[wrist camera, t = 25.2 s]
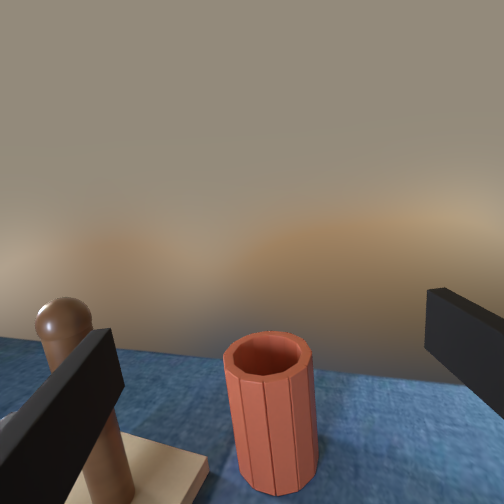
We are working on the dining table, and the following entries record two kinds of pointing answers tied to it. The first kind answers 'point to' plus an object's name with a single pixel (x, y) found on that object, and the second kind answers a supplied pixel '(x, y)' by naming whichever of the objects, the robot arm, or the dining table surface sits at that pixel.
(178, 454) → the ring stand
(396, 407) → the dining table surface
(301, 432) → the orange hollow tube
